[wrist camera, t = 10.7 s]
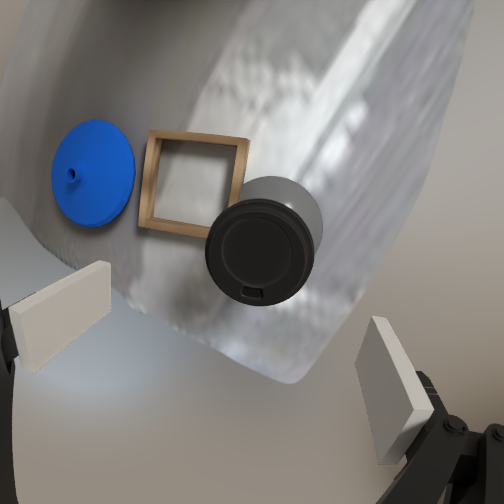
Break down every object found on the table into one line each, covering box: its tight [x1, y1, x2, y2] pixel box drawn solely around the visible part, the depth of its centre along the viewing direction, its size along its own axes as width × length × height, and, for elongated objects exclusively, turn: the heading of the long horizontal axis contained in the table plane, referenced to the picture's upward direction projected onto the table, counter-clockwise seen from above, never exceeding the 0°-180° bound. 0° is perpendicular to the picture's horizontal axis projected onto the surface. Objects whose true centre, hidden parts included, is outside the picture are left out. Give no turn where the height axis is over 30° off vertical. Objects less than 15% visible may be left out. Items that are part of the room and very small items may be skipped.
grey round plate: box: [223, 176, 323, 254], centre depth 40 cm, size 13×13×1 cm
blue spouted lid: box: [52, 120, 136, 228], centre depth 38 cm, size 16×16×7 cm
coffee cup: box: [205, 198, 315, 306], centre depth 32 cm, size 9×9×15 cm
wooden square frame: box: [138, 130, 250, 239], centre depth 39 cm, size 13×13×2 cm
